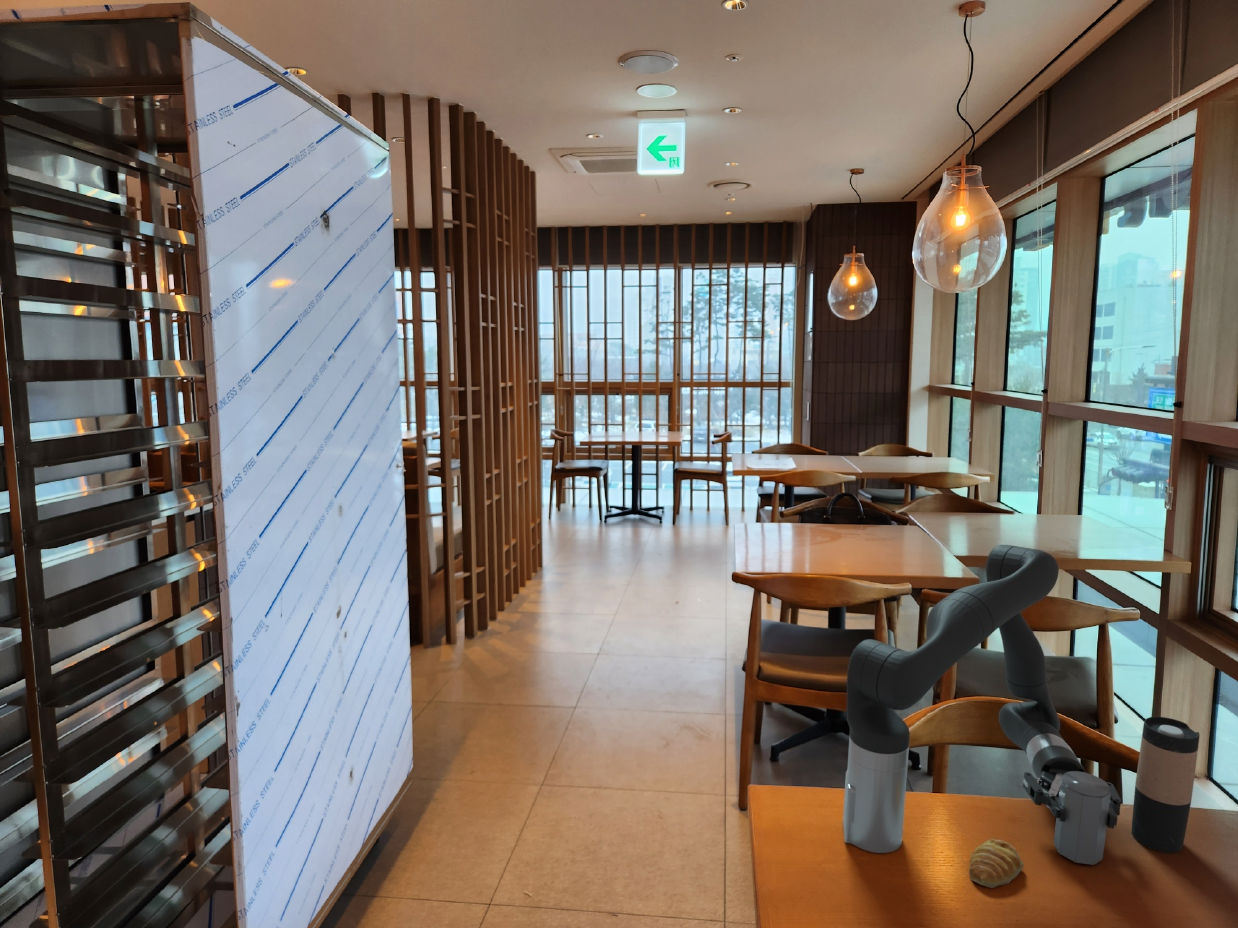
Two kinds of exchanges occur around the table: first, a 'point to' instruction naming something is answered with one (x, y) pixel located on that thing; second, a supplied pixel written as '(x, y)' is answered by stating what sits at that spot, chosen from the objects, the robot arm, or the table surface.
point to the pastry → (994, 863)
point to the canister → (1082, 817)
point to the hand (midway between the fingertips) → (1087, 819)
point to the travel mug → (1164, 784)
